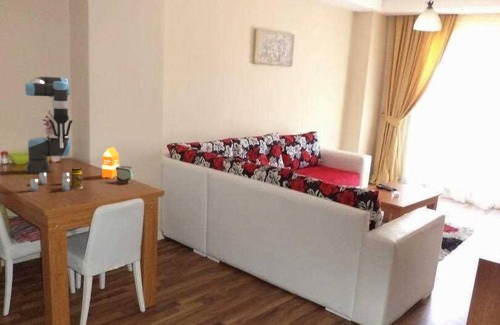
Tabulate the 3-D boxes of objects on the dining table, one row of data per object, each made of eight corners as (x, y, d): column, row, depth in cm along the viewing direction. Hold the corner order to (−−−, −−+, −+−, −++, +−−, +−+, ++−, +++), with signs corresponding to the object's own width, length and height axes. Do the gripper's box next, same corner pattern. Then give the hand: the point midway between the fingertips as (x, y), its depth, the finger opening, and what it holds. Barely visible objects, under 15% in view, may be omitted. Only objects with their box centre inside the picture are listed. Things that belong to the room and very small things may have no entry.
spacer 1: (31, 189, 248) (30, 178, 246) (38, 189, 249) (38, 178, 248) (29, 191, 244) (29, 179, 243) (37, 191, 245) (37, 179, 244)
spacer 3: (63, 183, 267) (62, 172, 266) (69, 183, 268) (69, 172, 267) (62, 184, 263) (61, 173, 262) (69, 184, 264) (68, 173, 263)
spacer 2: (40, 183, 263) (39, 172, 262) (47, 183, 264) (47, 172, 263) (39, 184, 260) (38, 173, 258) (46, 184, 261) (45, 173, 259)
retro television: (136, 182, 280) (136, 167, 278) (130, 184, 274) (130, 169, 272) (121, 179, 285) (121, 165, 283) (115, 181, 279) (115, 166, 277)
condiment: (83, 188, 258) (82, 169, 256) (67, 189, 254) (67, 169, 252) (82, 185, 264) (81, 166, 262) (67, 186, 260) (67, 167, 258)
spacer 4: (62, 189, 252) (62, 178, 251) (70, 189, 254) (69, 178, 252) (61, 191, 249) (61, 179, 247) (69, 191, 250) (69, 179, 249)
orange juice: (102, 177, 288) (101, 148, 285) (109, 174, 297) (109, 146, 293) (112, 178, 287) (112, 149, 283) (119, 175, 295) (119, 147, 292)
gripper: (47, 108, 244) (48, 148, 248) (71, 108, 247) (72, 148, 252) (49, 107, 251) (50, 146, 255) (73, 108, 254) (74, 146, 259)
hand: (61, 147), depth 253 cm, fingers closed
